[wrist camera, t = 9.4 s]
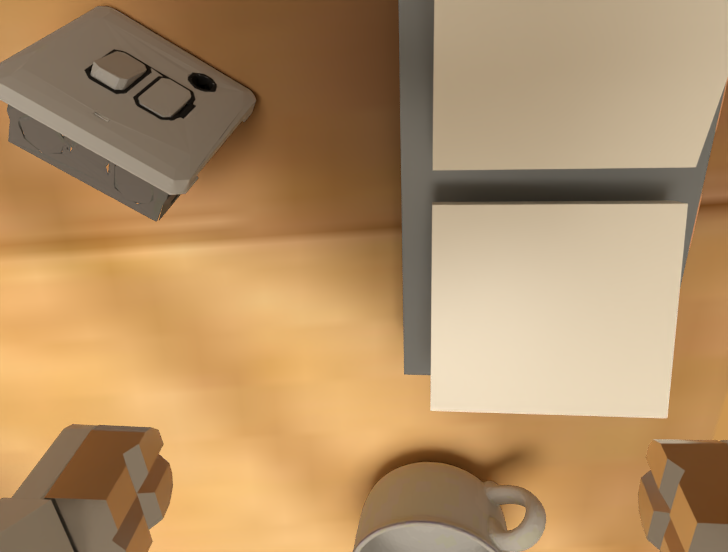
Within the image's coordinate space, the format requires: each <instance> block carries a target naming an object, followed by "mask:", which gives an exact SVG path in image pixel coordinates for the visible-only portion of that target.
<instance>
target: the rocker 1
mask: <svg viewBox="0 0 728 552" xmlns="http://www.w3.org/2000/svg"><path fill="white" fill-rule="evenodd" d="M727 78H728V0H434V72H433V170H514V169H601V168H688V167H696V165H697V163H698V160H699V157H700V154H701V151H702V148H703V146H704V143H705V140H706V137H707V134H708V132H709V129H710V126H711V123H712V120H713V117H714V115H715V112H716V109H717V106H718V103H719V101H720V98H721V95H722V92H723V89H724V86H725V84H726V81H727Z"/></svg>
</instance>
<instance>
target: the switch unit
mask: <svg viewBox="0 0 728 552" xmlns="http://www.w3.org/2000/svg"><path fill="white" fill-rule="evenodd" d="M399 61H400V127H401V193H402V260H403V326H404V374H408V375H431V282H432V202H510V201H678V202H682V203H687V204H688V209H687V219H686V230H685V240H684V250H683V261H682V271H681V281H680V286H681V282H682V277H683V273H684V268H685V264H686V259H687V255H688V250H689V249H690V246H691V242H692V237H693V233H694V228H695V224H696V220H697V215H698V211H699V206H700V202H701V197H702V188H703V183H704V179H705V175H706V170H707V166H708V161H709V157H710V152H711V148H712V143H713V139H714V134H715V131H717V126H718V122H719V117H720V113H721V108H722V104H723V100H724V95H725V91H726V86H727V82H728V78H727V81H726V84H725V86H724V89H723V92H722V95H721V98H720V101H719V103H718V106H717V109H716V112H715V115H714V117H713V120H712V123H711V126H710V129H709V132H708V134H707V137H706V140H705V143H704V146H703V148H702V151H701V154H700V157H699V160H698V163H697V165H696V167H688V168H601V169H514V170H433V72H434V0H399Z"/></svg>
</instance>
